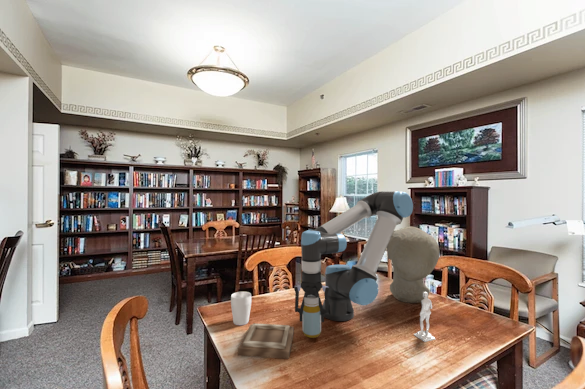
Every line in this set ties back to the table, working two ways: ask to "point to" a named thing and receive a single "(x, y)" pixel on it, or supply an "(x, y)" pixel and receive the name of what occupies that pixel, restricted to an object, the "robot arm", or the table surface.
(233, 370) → the table surface
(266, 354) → the plinth
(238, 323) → the cup
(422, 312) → the figurine
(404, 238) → the bust
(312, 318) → the bottle
